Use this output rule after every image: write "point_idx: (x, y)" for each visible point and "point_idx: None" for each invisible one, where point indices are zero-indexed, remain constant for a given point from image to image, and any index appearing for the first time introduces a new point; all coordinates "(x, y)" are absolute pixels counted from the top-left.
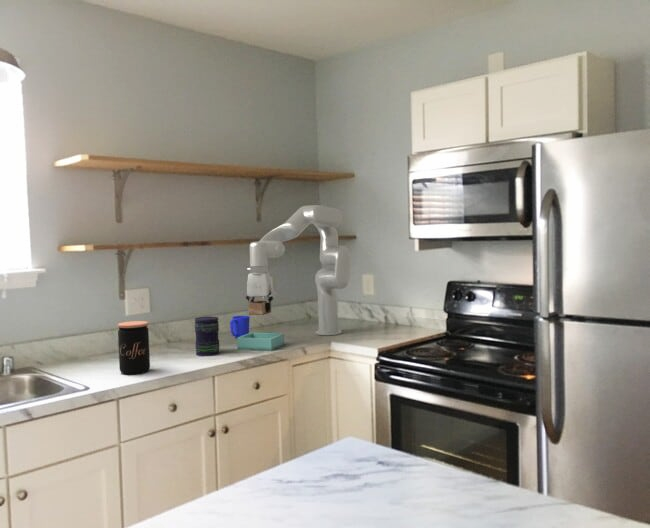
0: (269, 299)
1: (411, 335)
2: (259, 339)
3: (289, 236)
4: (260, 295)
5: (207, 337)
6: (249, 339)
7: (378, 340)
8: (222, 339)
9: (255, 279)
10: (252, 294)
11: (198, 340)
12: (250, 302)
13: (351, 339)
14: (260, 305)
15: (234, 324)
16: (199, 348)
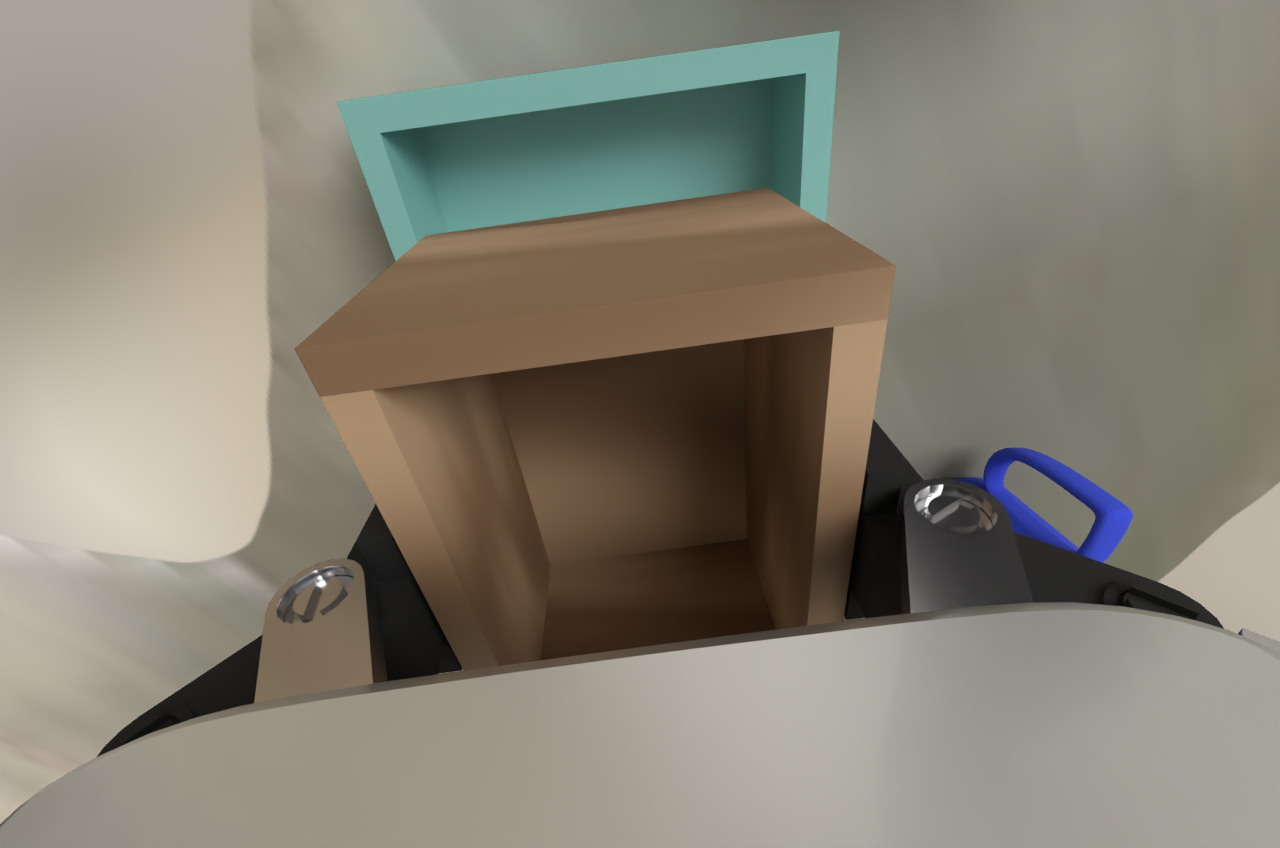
0: (253, 680)
1: (34, 794)
2: (506, 78)
3: None
4: (405, 716)
5: None
6: (651, 59)
7: (39, 679)
8: (1081, 418)
9: None
10: (948, 701)
11: None
12: (920, 507)
13: (211, 658)
14: (405, 309)
15: (1066, 543)
16: None
